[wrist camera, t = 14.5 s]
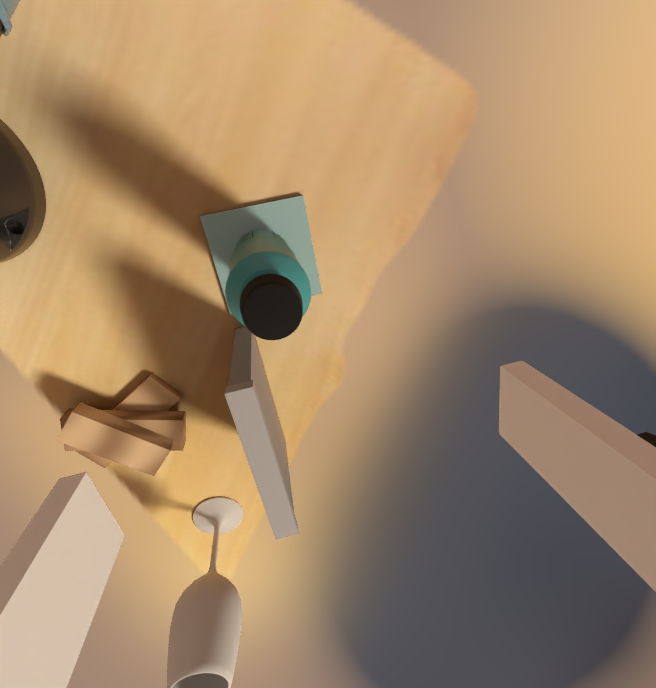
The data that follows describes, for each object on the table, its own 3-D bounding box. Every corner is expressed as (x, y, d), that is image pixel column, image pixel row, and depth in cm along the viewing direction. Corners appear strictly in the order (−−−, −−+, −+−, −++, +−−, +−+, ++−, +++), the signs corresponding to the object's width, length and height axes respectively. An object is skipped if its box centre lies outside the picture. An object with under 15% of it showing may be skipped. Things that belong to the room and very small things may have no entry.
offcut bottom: (154, 368, 45) (150, 376, 43) (183, 390, 47) (180, 399, 45) (79, 439, 47) (72, 449, 45) (110, 457, 49) (104, 467, 47)
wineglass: (201, 539, 56) (174, 720, 37) (184, 504, 53) (145, 683, 34) (250, 525, 57) (248, 696, 38) (236, 489, 53) (226, 656, 34)
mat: (200, 216, 38) (199, 216, 38) (302, 195, 39) (303, 195, 39) (230, 313, 43) (230, 314, 43) (321, 292, 44) (321, 293, 44)
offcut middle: (185, 411, 46) (182, 420, 44) (185, 440, 47) (182, 450, 46) (68, 409, 43) (60, 418, 41) (72, 440, 45) (64, 450, 43)
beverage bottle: (223, 236, 39) (198, 279, 21) (283, 219, 40) (308, 247, 22) (244, 292, 42) (237, 374, 24) (299, 276, 42) (334, 344, 24)
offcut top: (174, 439, 45) (170, 450, 43) (158, 464, 46) (153, 475, 44) (80, 402, 41) (71, 411, 39) (64, 429, 42) (56, 440, 40)
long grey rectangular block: (233, 328, 44) (224, 393, 30) (253, 324, 44) (252, 386, 30) (270, 445, 51) (275, 539, 38) (286, 440, 52) (298, 533, 38)
